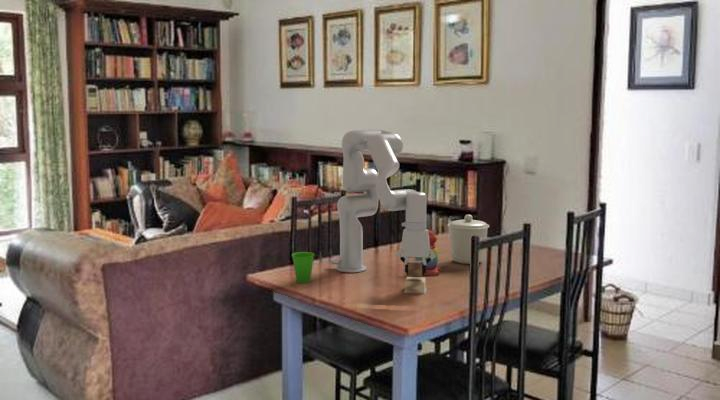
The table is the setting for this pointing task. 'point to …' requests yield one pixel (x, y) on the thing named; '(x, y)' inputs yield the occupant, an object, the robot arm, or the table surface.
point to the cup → (303, 266)
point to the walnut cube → (415, 268)
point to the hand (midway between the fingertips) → (415, 274)
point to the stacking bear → (432, 265)
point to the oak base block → (415, 284)
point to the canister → (465, 238)
